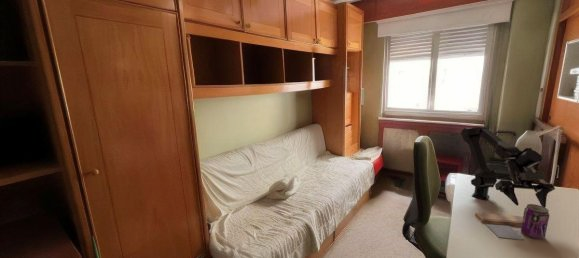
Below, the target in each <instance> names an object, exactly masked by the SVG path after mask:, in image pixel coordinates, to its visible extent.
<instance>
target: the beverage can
mask: <svg viewBox="0 0 579 258" xmlns="http://www.w3.org/2000/svg"><path fill="white" fill-rule="evenodd" d="M549 212H550V211H549V209H548V208H547V207H542V206H541V205H539V204H533V203H528V204H527V205H526V207H525V208H524V211H523V215H522V216H523V220H522V226H520V231H521V232H522V233H523V234H525V235H526V236H528V237H530V238H532V239H545V238H546V234H547V230H548V229H547V228H548V226H549V225H548V223H549V220H550V213H549Z"/></svg>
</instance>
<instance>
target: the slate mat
mask: <svg viewBox="0 0 579 258" xmlns="http://www.w3.org/2000/svg"><path fill="white" fill-rule="evenodd" d="M485 226H486V227H487V228H488V229H489V230H490V231H491V232H492V233H493V234H494V235H495V236H496V237H497V238H499V239H511V240H519V241H520V240H521V241H525V240H526V238H524V237H523V236H522V235H521V234H519V233H518V232H517V231H516V230H515V229H514V228H513V227H512V226H511V225H502V224H491V223H485Z"/></svg>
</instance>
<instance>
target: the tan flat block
mask: <svg viewBox="0 0 579 258" xmlns="http://www.w3.org/2000/svg"><path fill="white" fill-rule="evenodd" d="M474 215H475V217H476V218H477V220H479V221H480V223H482V224H491V225H503V226H515V227H521V226H522V220H523V215H509V214H496V213H485V212H475V213H474Z"/></svg>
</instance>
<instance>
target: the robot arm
mask: <svg viewBox="0 0 579 258" xmlns="http://www.w3.org/2000/svg"><path fill="white" fill-rule="evenodd" d="M460 134H461V137H462V139H463V141H464V142H465V143H467V144H468V146H469V150H470V153H471V156H472V159H473V163H474V165H475V167H476V171H475V172H474V178H472V179H471V180H470V185H472V186H473V187H474V191H473V193H472V195H471V197H473V198H477V199H481V200H484V201H487V200H488V199H489V198H490V195H489V189H490V188H494V187H495V189H496V191H499V192H500V193H503V194H504V195H505V196H506V197H507V198H508V199H509V200H510V201H511V202H512V203H513V204H514V205H515V206H519V201H518V197H517V195H516V192H515V189H523V190H524V189H525V190H534V192H535V196H536V198H537V201H538V202H539V204H540V206H542V207H545V208H547V207H546V206H547V196H548V194H549V193H551V192H552V191H554V190H556V188H555V185H554V184H553V183H550V182H541V180H545V177H546V176H545V174H544V172H543V171H534V172H530V171H527V169H526V168H530V167H533V166H534V165H536V164H538V163H540V162H541V161H543V157H542V155H541V153H539V152H537V151H536V150H533V149H532V147H526V148H524V149H523V150H520V149H519V147H517V146H516V145H513V144H511V143H508V142H506V141H504V140H503V139H501V138H500V137H499V136H498V135H497V134H495V133H494V132H493V131H491V129H490V128H489V127H488V126H476V127H464V128H462V130H461V132H460ZM481 139H484V140H485V142H487V143H488V144H489V145H490V146H492V147H493V150H494V153H495V154H496V155H497V157H499V158H500V159H502V160H505V159H507V160H505V161H504V163H503V164H502V166H503V167H507V169H508V171H509V175H508V178H509V179H500V180H499V181H498V179H497V178H498V176H497V175H496V172H495V170H494V169H491V168H490V167H489V166H488V163H487V161H486V157H485V155H484V152H483V148H482V145H481V144H480V141H481ZM510 179H511V180H510ZM537 181H538V182H539V183H537V184H535V183H536V182H537Z"/></svg>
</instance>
